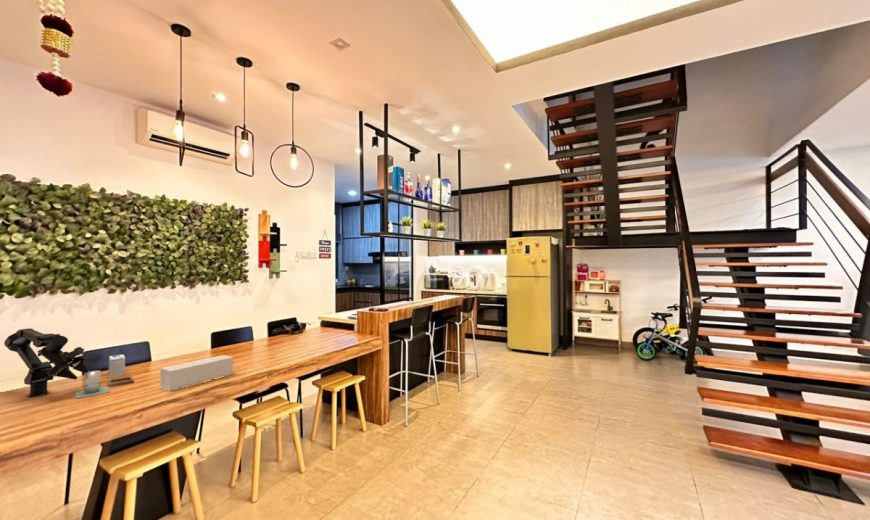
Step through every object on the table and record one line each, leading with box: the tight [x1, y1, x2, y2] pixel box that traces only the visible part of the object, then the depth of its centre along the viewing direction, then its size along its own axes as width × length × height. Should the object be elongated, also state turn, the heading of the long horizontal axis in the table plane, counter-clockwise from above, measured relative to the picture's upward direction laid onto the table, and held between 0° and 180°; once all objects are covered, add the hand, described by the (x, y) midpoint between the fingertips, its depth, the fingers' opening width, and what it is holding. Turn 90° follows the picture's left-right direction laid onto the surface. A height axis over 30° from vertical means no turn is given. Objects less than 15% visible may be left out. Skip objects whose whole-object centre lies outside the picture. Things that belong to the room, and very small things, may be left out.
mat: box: [74, 385, 110, 400], centre depth 175 cm, size 12×12×1 cm
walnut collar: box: [107, 376, 135, 388], centre depth 190 cm, size 10×10×2 cm
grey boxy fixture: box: [108, 353, 126, 379], centre depth 205 cm, size 11×7×11 cm, turn 47°
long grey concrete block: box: [159, 354, 234, 392], centre depth 193 cm, size 32×11×11 cm, turn 149°
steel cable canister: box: [83, 370, 102, 394], centre depth 175 cm, size 6×6×10 cm
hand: (82, 375), depth 174 cm, fingers open, 9 cm apart
